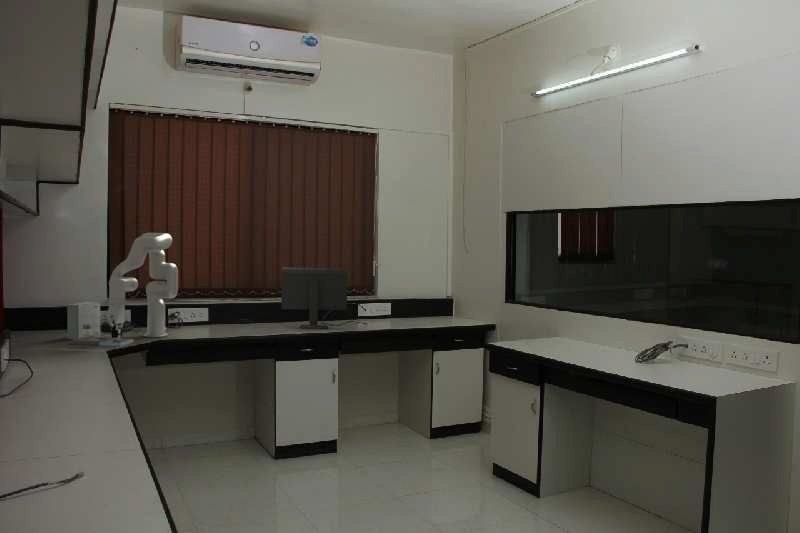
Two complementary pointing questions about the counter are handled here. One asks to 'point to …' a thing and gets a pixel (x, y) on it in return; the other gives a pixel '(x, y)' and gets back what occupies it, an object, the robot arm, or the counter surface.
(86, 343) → the fuse holder
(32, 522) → the counter surface
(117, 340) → the fuse
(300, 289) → the computer monitor
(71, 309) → the hard drive box
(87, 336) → the fuse
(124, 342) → the parts tray
